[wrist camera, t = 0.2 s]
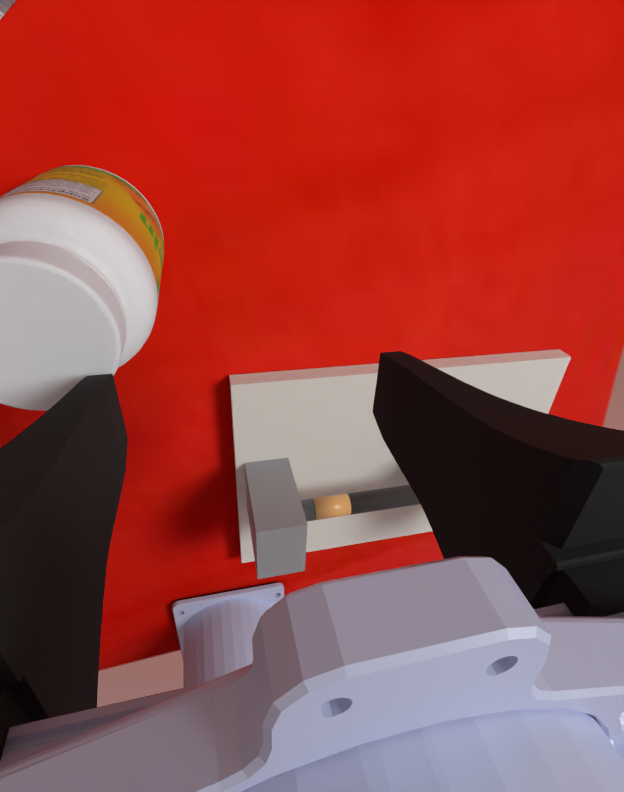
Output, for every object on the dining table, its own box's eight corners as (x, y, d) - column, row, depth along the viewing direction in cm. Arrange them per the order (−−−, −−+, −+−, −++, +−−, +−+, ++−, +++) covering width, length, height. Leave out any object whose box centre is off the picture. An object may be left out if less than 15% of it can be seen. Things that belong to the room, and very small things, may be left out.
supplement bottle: (170, 298, 20) (162, 426, 13) (38, 300, 19) (-62, 443, 11) (157, 166, 18) (136, 225, 10) (1, 158, 16) (-168, 218, 8)
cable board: (497, 509, 35) (547, 575, 30) (240, 550, 31) (250, 635, 26) (559, 349, 28) (639, 403, 23) (229, 375, 23) (241, 449, 18)
